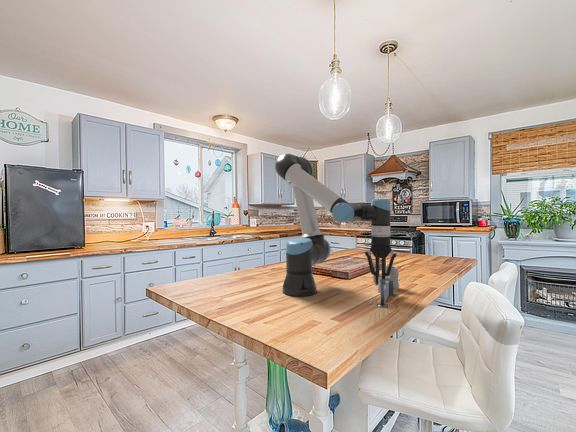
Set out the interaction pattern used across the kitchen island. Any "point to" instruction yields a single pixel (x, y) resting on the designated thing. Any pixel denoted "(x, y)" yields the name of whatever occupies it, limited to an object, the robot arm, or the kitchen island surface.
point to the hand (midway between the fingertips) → (380, 291)
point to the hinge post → (382, 295)
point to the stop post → (392, 289)
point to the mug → (392, 275)
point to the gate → (386, 288)
